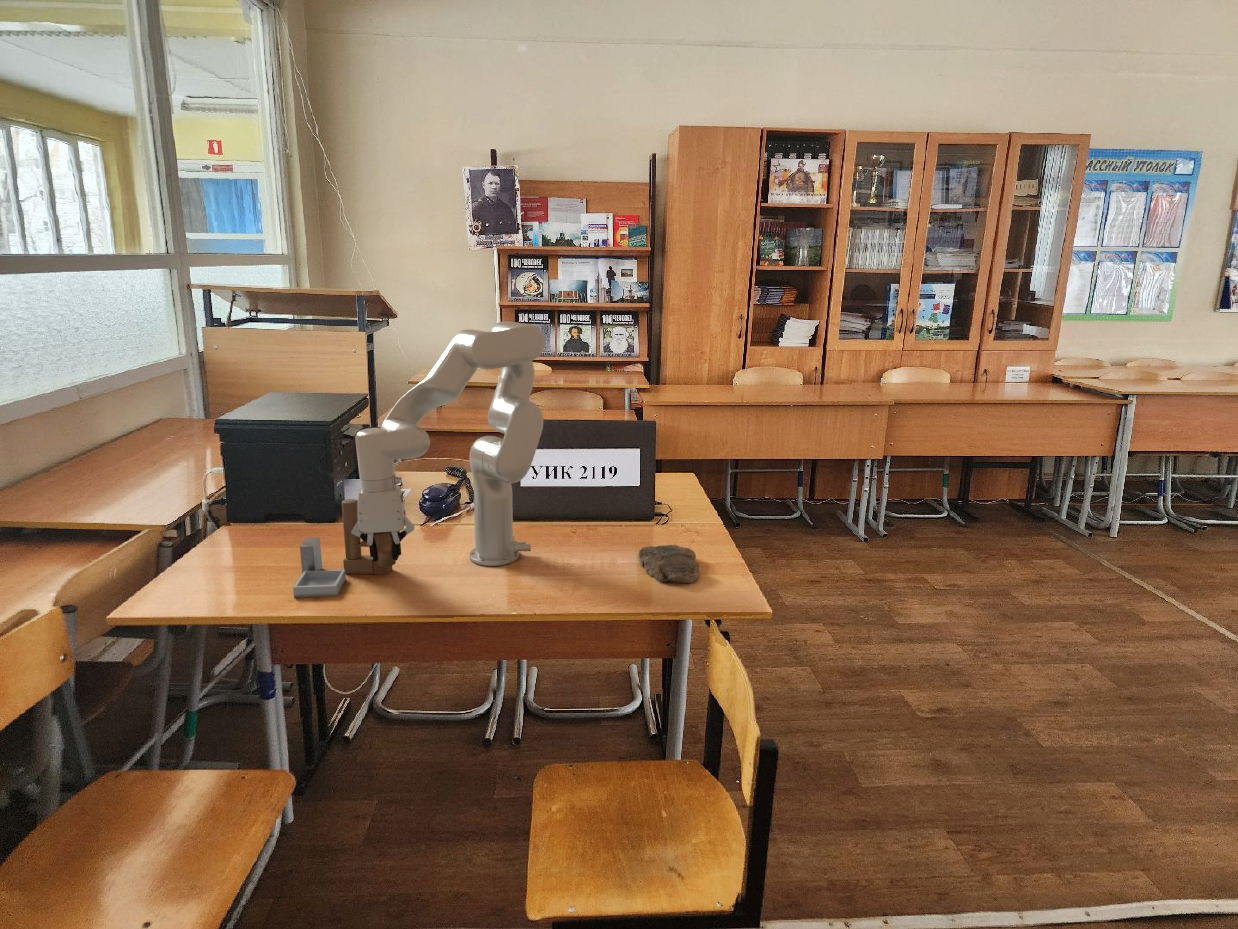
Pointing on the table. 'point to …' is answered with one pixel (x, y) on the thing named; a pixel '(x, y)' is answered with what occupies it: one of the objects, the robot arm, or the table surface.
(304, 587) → the tray
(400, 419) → the robot arm
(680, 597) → the table surface
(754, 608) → the table surface
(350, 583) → the table surface
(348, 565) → the wooden blocks
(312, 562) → the rectangular block
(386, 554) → the dowel
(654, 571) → the grey rock
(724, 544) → the table surface
